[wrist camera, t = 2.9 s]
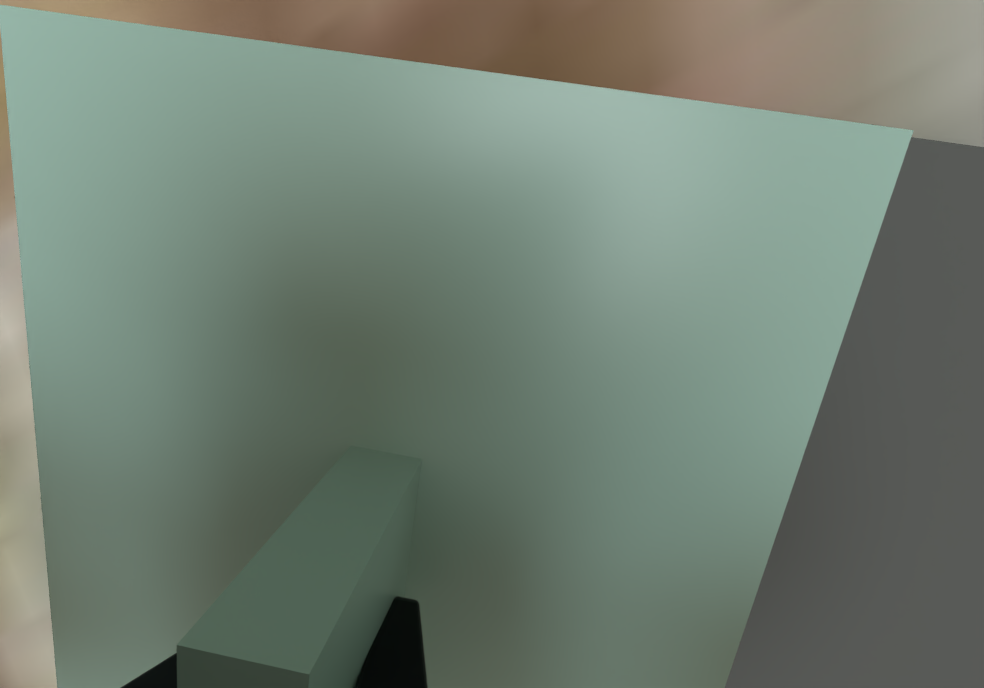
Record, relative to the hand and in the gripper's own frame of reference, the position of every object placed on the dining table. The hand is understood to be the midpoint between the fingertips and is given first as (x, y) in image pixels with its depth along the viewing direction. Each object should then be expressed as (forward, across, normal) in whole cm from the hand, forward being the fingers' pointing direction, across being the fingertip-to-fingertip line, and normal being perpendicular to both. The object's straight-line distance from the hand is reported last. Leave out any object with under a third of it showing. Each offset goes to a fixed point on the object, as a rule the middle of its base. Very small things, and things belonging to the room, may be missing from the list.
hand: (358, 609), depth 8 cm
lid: (+3, 0, 0) cm, 3 cm away
